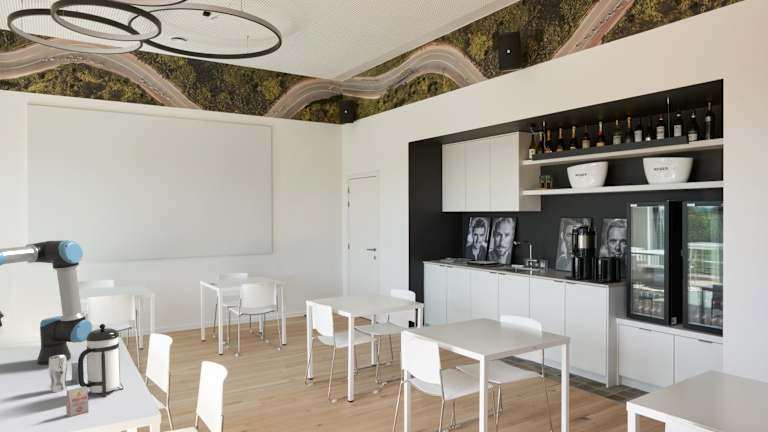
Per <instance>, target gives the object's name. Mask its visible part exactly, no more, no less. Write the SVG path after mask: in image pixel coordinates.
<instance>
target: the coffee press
mask: <svg viewBox="0 0 768 432" xmlns="http://www.w3.org/2000/svg"><path fill="white" fill-rule="evenodd" d="M119 336H120V333H119V332H118V331H117V330H116V329H114V328H109V327H108V328H107V327H106V324H105V323H101V324H100V325H99V328H98V329H94V330H92V331H91V332H90V333H89V334H88V335H87V337H86V340H85V341H86V349H84V350H83V351H82V352H81V353H80V354H79V357H78V359H77V360H78V361H77V363H78V380H79V384H78V385H79V386H80V387H85V386H87V391H88V390H89V392H87V394H88V396H90V394H91V393H93V394H94V393H96V394H102V398H105V397H107V392H111V391H114V390H116V389H119V390H121V391H123V390H124V385H123V384H122V382H121V379H120V373H121V371H120V370H121V367H120V365H121V363H120V342H119ZM85 357H87V359H86V367H87V368H86V369H87V370H86V371H87V383H86V382H85V378H84V377H85V374H84V373H85V372H84V371H85V370H84V359H85ZM119 386H121V387H122V388H121V387H119Z"/></svg>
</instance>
